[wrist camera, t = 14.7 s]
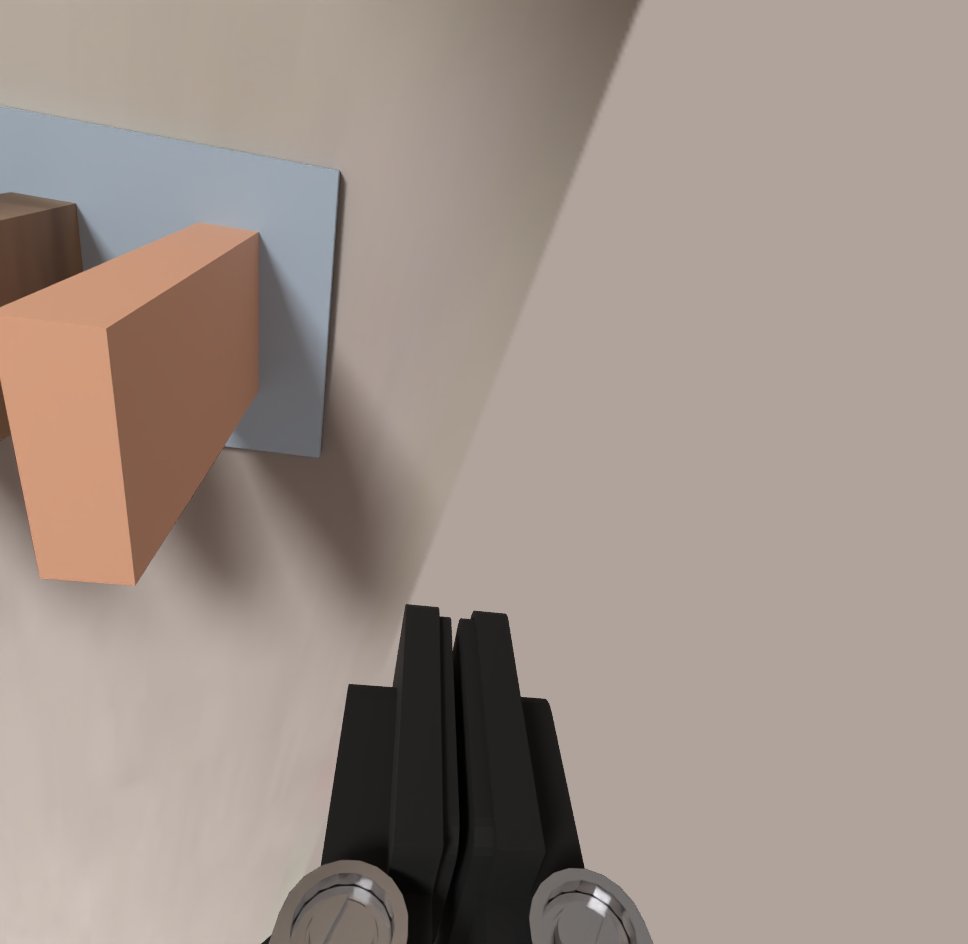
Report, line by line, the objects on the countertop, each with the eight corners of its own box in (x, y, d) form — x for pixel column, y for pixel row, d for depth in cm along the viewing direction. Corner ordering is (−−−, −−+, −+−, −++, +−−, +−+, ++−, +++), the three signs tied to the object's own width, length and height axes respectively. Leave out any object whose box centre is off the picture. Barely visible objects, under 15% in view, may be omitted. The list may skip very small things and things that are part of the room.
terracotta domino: (259, 231, 22) (105, 328, 12) (258, 391, 25) (135, 585, 15) (198, 222, 22) (-13, 312, 11) (205, 385, 25) (39, 578, 14)
